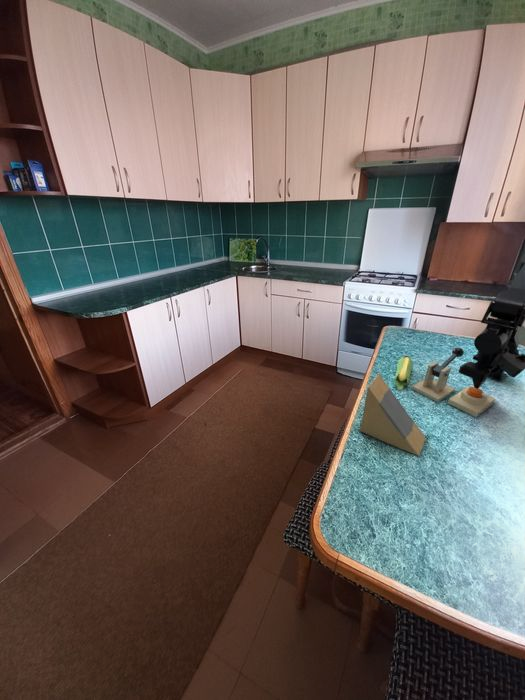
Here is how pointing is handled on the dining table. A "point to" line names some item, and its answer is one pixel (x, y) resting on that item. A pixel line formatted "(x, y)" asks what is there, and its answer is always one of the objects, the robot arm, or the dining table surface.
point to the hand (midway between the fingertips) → (476, 387)
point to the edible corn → (403, 371)
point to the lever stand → (434, 384)
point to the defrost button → (475, 392)
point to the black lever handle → (448, 361)
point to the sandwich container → (389, 419)
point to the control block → (471, 402)
